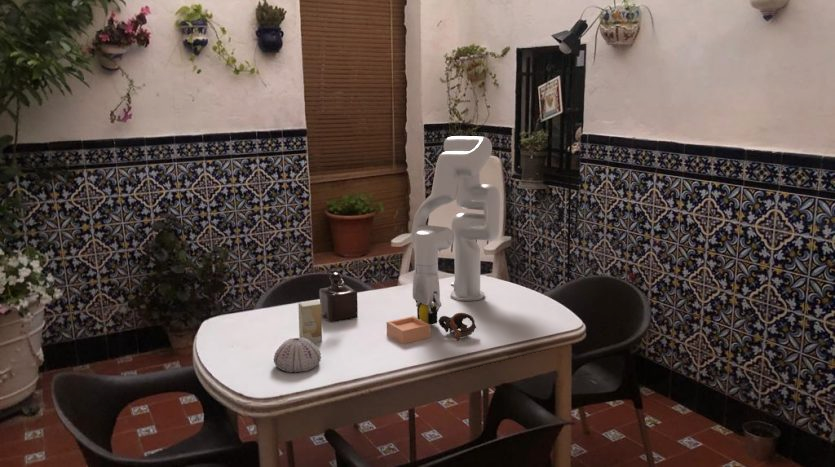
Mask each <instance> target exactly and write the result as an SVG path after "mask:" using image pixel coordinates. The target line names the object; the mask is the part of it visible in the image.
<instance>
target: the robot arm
mask: <svg viewBox="0 0 835 467" xmlns="http://www.w3.org/2000/svg"><path fill="white" fill-rule="evenodd" d="M443 149H444V152H442V153H440V154H439V156H438V158H437V162H436V167H435V171H434V177H433V183H432V189H431V193H430V194H429V196H428V197H427V198H426V199H425V200H424V201H423V202H422V203H421V204H420V206H419V207H418V209H417V211H416V212H415V214H414V217H413V221H412V222H413V223H412V226H411V228H412V229H411V236H410V237H411V238H410V239H411V242H412V243H413V245H414V272H413V278H412V298H413V300H414V301H415V306H416V307H417V308H416V310H417V312H416V313H417V316H416V318H418V319H420V317H419V308H420V305H421V304H425V305H428V308H429V313H428V324H430V326H432V325H437V323H438V312H439V310H440V309H441V307H442V303H441V299H440V298H441V289H440V288H441V287H440V280H439V275H438V273H439V251H444V250H447V249H449V248H450V247H452V246H453V245H454V249H453V250H454V252H453V253H454V282H451V283H450V286H451V287H452V288H453V290H452V291H451V292H450V297H451V299H454V300H456V301H461V302H462V301H463V302H473V301H478V300H481V299H483V298H485V292H484V291H482V290H481V249H480V245H479V244H478V242H477V241H485V242H486V241H488V242H491V241H495V240H496V239H497V238H498V236H499V233H500V225H501V224H500V223H501V222H500V219H501V218H500V217H501V216H500V214H501V200H500V199H501V198H500V191H499V189H498V187H497V186H496V185H493V184H491V183H481V182H480V172H481V171H482V169H483V167H484V166H485V165H486V163H487V162H488V161H489V160H490V158H491V156H492V152H493V144H492V141H491V140H490V139H489V137H486V136H478V135H477V136H475V135H474V136H468V135H455V136H454V135H453V136H448V137H447V138H445V139H444V142H443ZM455 200H456V206H457V207H458V208H461V209H463V210H470V211H471V210H473V211H482V212H483V213H477V212H459V213H457V214H455V215H454V216H453V217H452V220H451V228H450V227H448V226H447V227H446V226H438V225H428V224H427V220H428V218H429V216H430V215H431V214H432V213H433V212H434V211H435V210H437V209H439V208H441V207H443V206H445V205H448V204H451V203H453V202H454V201H455ZM431 305H434V307H433V308H432V307H431ZM420 320H421V319H420Z"/></svg>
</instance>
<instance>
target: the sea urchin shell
mask: <svg viewBox="0 0 835 467" xmlns="http://www.w3.org/2000/svg"><path fill="white" fill-rule="evenodd" d="M321 354H322V353H321V350H320V349H319V348H318V346H317V345H315V343H314V342H311V341H310V340H308V339H306V338H303V337H302V338H299V337H293V338H289V339H287V340H285V341H283V343H281V344H280V346H279V347H278V348H277V349H276V351H275V352H274V356H273V363H274V364H275V366H276V368H278V369H280V370H282V371H285V372H287V373H300V372H307V371H310V370H313V369H314V368H316V366H318V365H319V364H320V362H321V361H322V360H321V359H322V355H321Z"/></svg>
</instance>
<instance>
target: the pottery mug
mask: <svg viewBox="0 0 835 467" xmlns="http://www.w3.org/2000/svg"><path fill="white" fill-rule="evenodd" d="M466 319H469V321H471V325H470V326H468V325H467V324H465V323H463V321H464V320H466ZM437 323H439V325H440V327H441V328H443V329H444V331H445V332H446V333H451V332H455V333H454V336H453V339H454V340H456V341H460V340H461V339H462V338H465V337H469V336H470V335H472V334H473V333H474V332H475V330H476V329H477V326H476V322H475V319H474V317H473V316H472V315H471V314H468V313H465V312H458V313H454V315H452V316H451V317H450V316H446V315H442V316H440V317H439V318H438V320H437Z"/></svg>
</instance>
